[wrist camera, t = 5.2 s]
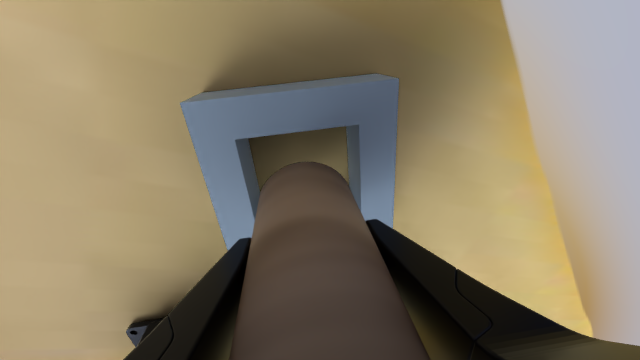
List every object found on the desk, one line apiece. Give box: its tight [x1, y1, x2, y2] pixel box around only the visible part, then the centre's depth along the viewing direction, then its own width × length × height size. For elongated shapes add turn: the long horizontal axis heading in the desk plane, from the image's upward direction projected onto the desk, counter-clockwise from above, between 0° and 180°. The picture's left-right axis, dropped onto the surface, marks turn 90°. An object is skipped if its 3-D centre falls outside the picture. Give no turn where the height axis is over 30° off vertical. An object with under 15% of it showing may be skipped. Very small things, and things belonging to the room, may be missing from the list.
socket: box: [180, 73, 399, 250], centre depth 14 cm, size 9×9×3 cm
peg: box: [229, 162, 431, 360], centre depth 8 cm, size 4×4×8 cm
